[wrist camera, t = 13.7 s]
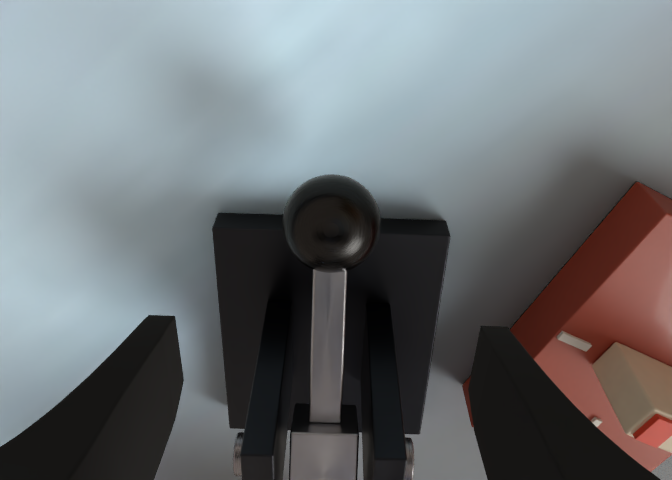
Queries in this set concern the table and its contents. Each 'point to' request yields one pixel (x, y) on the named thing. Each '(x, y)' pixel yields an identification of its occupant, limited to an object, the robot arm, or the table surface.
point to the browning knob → (638, 394)
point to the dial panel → (607, 310)
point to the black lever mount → (295, 338)
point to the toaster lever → (328, 317)
